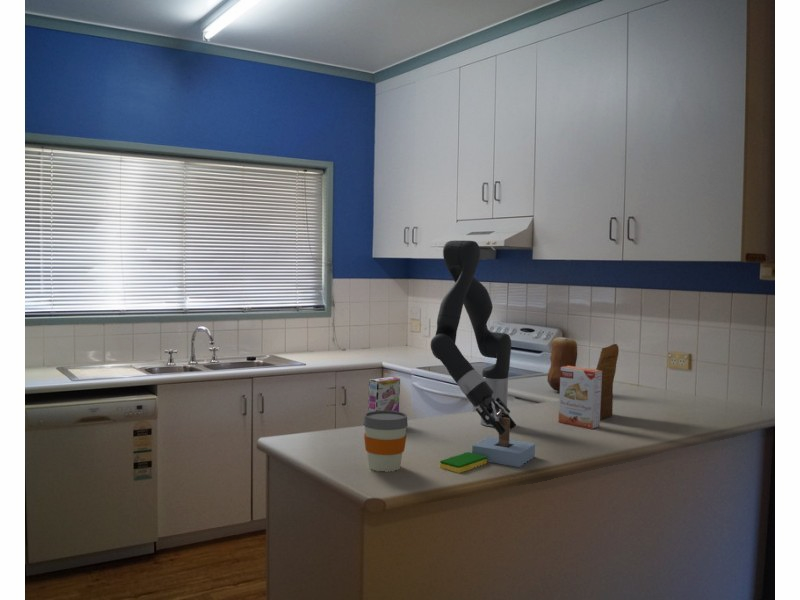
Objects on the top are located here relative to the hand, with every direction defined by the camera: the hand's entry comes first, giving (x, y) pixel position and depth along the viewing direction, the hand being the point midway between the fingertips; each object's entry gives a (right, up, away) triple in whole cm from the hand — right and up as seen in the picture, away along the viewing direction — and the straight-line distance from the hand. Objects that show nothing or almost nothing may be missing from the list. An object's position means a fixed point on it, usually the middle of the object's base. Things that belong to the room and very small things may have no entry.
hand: (508, 430), depth 218 cm
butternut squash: (+41, -3, +111) cm, 118 cm away
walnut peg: (-2, -9, +1) cm, 9 cm away
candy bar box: (-39, -5, +40) cm, 56 cm away
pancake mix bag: (+45, -6, +61) cm, 76 cm away
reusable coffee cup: (-37, -9, -12) cm, 40 cm away
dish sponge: (-14, -9, -8) cm, 19 cm away
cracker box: (+33, -7, +47) cm, 58 cm away
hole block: (-1, -9, +1) cm, 9 cm away
